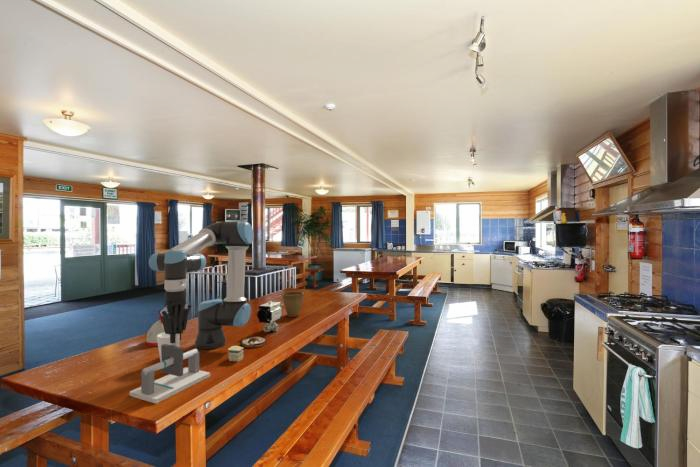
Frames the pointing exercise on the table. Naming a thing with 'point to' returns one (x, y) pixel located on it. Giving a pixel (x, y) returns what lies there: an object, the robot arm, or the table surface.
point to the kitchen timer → (155, 332)
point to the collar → (177, 354)
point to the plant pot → (293, 302)
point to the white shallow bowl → (253, 342)
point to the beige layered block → (235, 353)
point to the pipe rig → (169, 379)
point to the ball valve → (270, 315)
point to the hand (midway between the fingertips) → (175, 350)
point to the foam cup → (162, 342)
